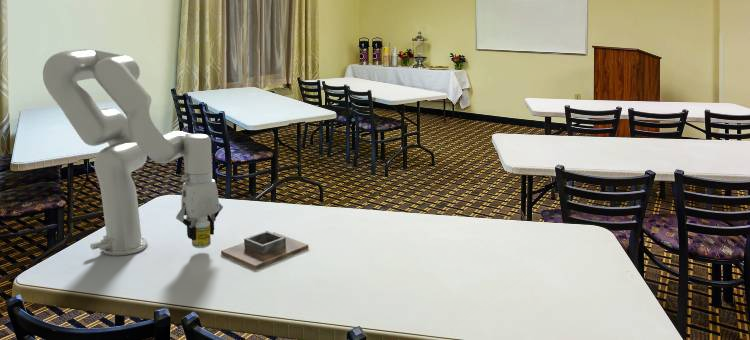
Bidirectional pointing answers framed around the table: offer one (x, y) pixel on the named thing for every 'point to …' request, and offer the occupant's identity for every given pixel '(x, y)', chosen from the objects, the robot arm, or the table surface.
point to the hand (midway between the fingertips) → (201, 235)
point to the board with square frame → (264, 249)
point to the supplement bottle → (202, 233)
